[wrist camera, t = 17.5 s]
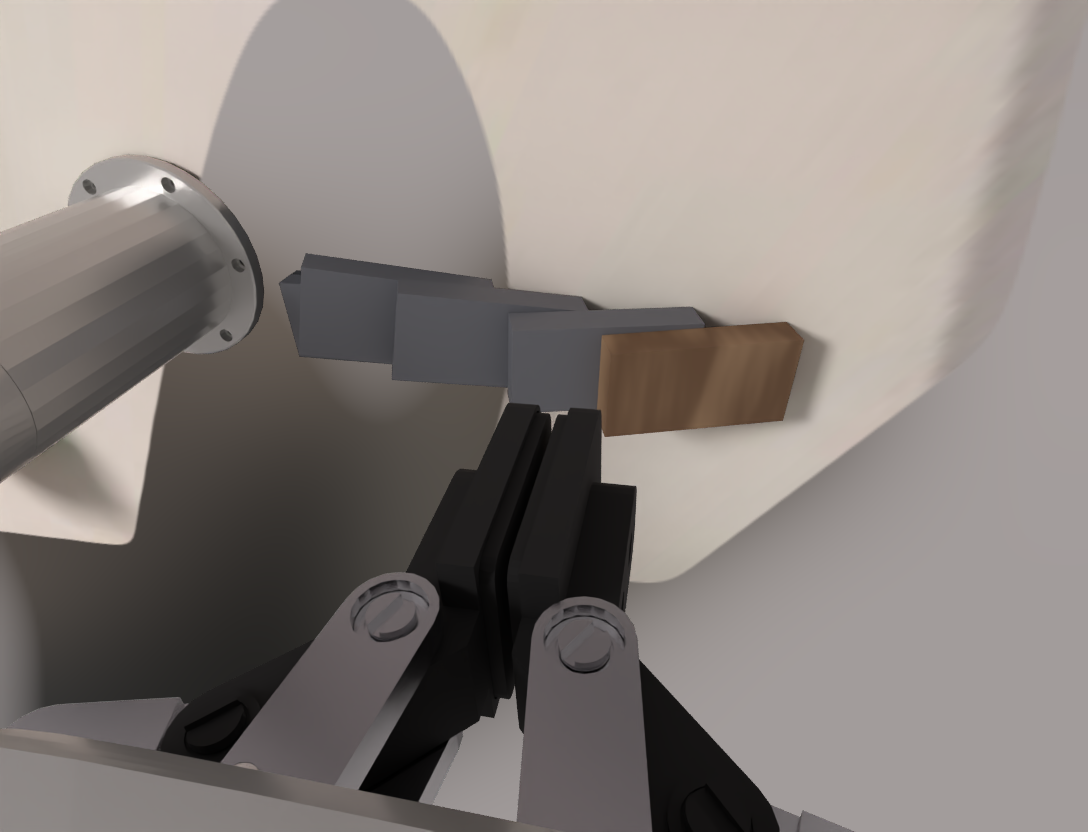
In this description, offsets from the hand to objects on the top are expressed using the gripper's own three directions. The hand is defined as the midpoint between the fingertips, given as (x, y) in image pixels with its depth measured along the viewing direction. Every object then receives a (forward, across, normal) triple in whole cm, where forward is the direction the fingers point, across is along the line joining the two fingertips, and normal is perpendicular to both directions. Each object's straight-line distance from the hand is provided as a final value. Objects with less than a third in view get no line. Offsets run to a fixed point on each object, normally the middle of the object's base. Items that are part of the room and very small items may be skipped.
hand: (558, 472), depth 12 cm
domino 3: (+24, +4, +10) cm, 26 cm away
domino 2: (+24, +9, +9) cm, 27 cm away
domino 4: (+24, -3, +10) cm, 26 cm away
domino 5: (+24, -8, +11) cm, 27 cm away
